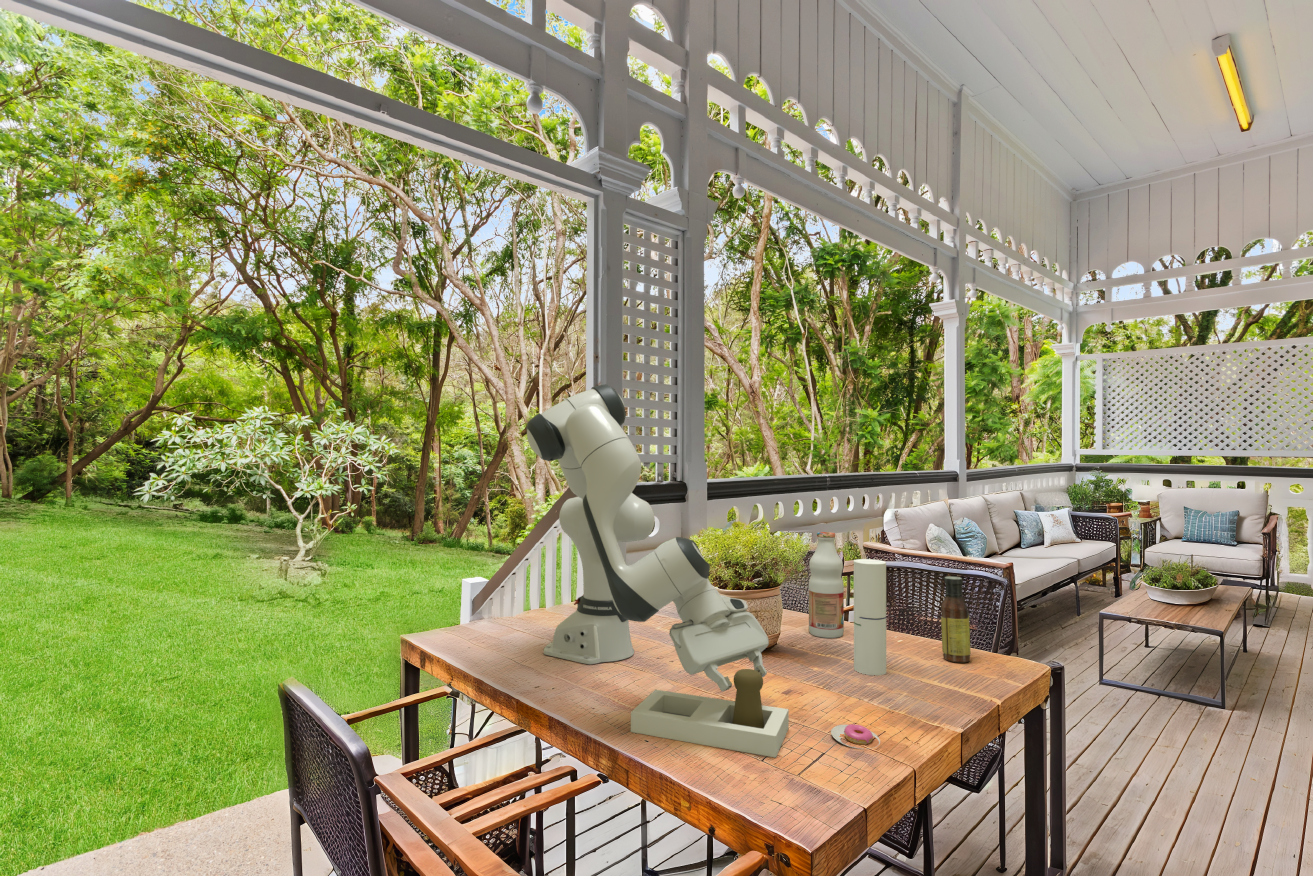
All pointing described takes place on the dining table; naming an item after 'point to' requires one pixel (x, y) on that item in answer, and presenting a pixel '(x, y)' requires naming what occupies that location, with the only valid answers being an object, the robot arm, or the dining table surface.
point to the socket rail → (708, 723)
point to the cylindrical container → (870, 616)
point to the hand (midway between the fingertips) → (745, 682)
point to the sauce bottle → (955, 623)
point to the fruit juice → (826, 589)
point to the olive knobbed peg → (748, 699)
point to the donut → (854, 734)
